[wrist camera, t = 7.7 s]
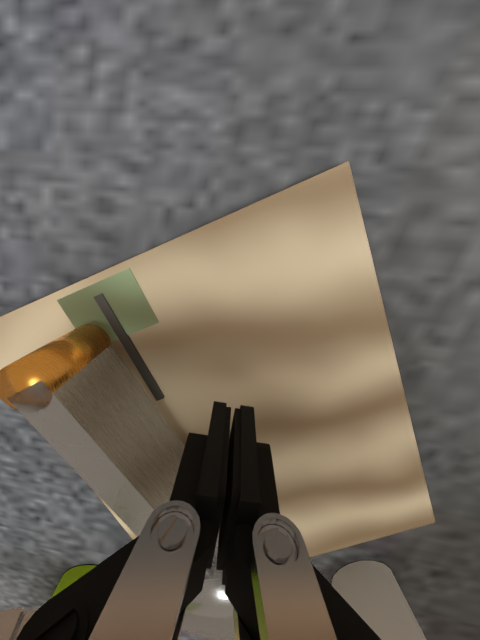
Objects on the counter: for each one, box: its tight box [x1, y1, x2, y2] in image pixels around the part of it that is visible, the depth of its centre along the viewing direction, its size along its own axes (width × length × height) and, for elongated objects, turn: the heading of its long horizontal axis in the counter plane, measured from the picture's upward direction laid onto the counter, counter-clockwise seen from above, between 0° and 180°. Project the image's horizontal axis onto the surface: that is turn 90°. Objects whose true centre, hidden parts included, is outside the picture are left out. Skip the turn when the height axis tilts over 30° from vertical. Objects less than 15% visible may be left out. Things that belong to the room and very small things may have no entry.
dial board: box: [0, 161, 435, 557], centre depth 17 cm, size 26×22×2 cm
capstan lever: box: [0, 324, 235, 640], centre depth 13 cm, size 18×8×5 cm, turn 27°
